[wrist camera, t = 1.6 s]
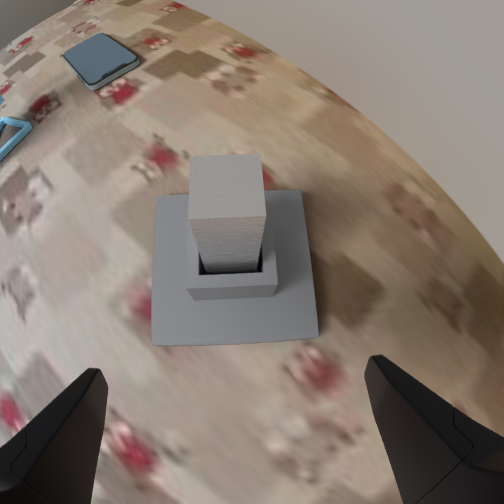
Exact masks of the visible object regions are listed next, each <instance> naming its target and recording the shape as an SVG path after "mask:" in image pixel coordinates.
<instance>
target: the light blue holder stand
mask: <svg viewBox="0 0 504 504" xmlns="http://www.w3.org/2000/svg"><path fill="white" fill-rule="evenodd" d="M3 101H4V99H3V97H2V96H1V95H0V105H1V103H2V102H3ZM4 124H9V125H13V126H17V127H21V128H22V129H21V130H20V131H19V132H17V133H16V134H15V135H14V136H13V137H12V138H11V139H10V140H9V141H8V142H7V143H6V144H5V145H4V146H3V147H2V148H1V149H0V161H1V160H2V159H3V158H4V157H5V156H6V155H7V154H8V153H9V152H10V151H11V150H12V149H13V147H14V146H15V145H16V144H17V143H18V142H19V141H20V140H21V139H22V138H23V137H24V136H25V135H26V134H27V133H28V132H29V131H30V130H31V129H32V126H31V124H30V122H26V121H22V120H17V119H12V118H8V117H2V118H1V119H0V131H1V129H2V127H3V126H4Z"/></svg>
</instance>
